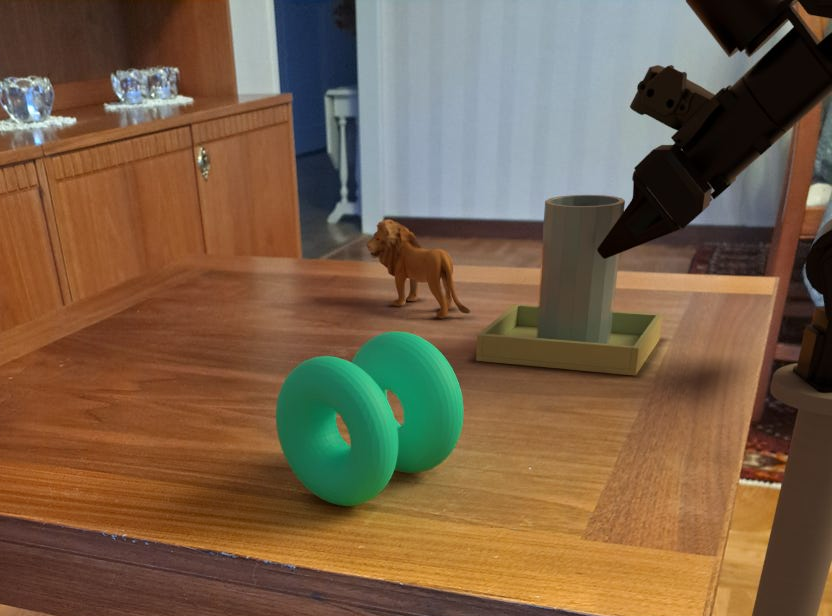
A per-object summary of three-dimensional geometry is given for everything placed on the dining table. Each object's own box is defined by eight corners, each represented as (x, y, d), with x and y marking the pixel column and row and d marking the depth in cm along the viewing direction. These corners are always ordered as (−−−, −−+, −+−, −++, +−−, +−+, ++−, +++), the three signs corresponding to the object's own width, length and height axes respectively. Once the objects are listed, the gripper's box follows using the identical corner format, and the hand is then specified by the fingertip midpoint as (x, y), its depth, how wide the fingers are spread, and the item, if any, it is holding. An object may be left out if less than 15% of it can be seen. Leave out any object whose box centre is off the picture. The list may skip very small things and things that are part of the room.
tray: (659, 339, 95) (663, 314, 93) (635, 375, 85) (639, 348, 84) (513, 328, 100) (514, 303, 99) (476, 360, 91) (476, 334, 90)
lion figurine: (361, 302, 112) (359, 221, 107) (393, 294, 115) (392, 214, 110) (454, 323, 103) (456, 234, 98) (486, 312, 106) (489, 227, 101)
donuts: (470, 480, 68) (474, 339, 62) (378, 529, 61) (374, 378, 56) (366, 448, 73) (361, 317, 68) (273, 490, 67) (260, 350, 62)
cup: (623, 343, 92) (640, 198, 85) (578, 359, 89) (592, 209, 81) (566, 330, 97) (578, 192, 90) (521, 345, 93) (529, 202, 86)
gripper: (721, 21, 82) (584, 161, 92) (679, 25, 68) (524, 190, 79) (799, 123, 83) (656, 250, 93) (774, 147, 69) (609, 294, 80)
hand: (613, 244), depth 86 cm, fingers open, 9 cm apart
